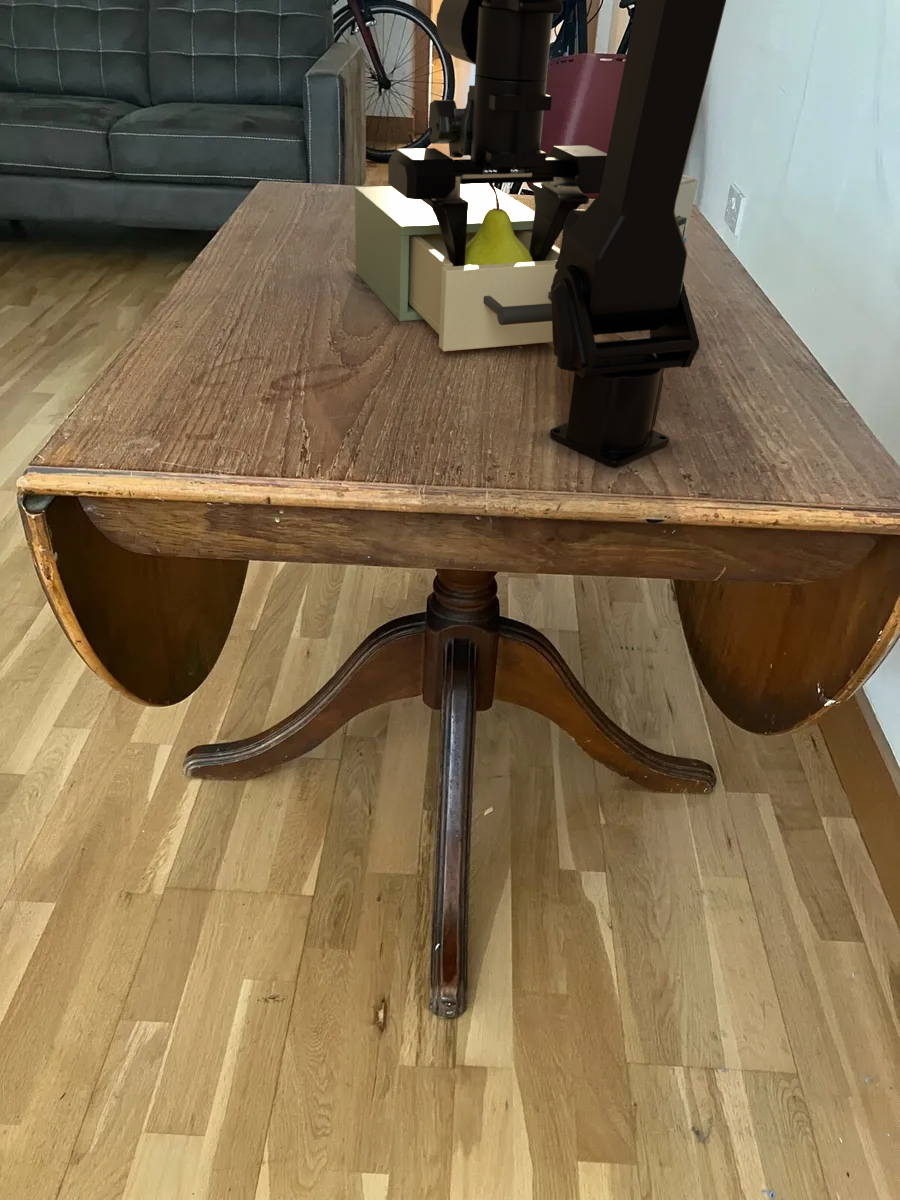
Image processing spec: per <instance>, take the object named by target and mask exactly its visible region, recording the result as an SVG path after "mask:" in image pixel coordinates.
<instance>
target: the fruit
mask: <svg viewBox="0 0 900 1200" xmlns="http://www.w3.org/2000/svg"><path fill="white" fill-rule="evenodd" d="M488 184H489V186H490V187H491V188H492V190H493V191H494V193H495V196H496V208H493V209H490V210H489V211H487V213H486V215H485V216H484V219H483V222H482V225H481V227H480V229H479V231H478V232H477V234H476V235H475V237H474V238H473V239H472V240H471V241H470V242H469V243H468V244H467V245H466V251H465V264H464V266H468V265H485V264H502V263H519V262H533V259H532V257H531V255H530V253H529V251H528V250H527V249H526V247H525V246H524V245H523V244H522V243H521V242H520V241H519V240H518V239H517V238H516V236H515V235H514V232H513V229H512V225H511V220H510V217H509V215H508V213H507V212H506V211H504V210H503V209H500V206H499V201H498V197H497V193H496V190H495V188H496V187H495V186H494V183H488ZM494 187H495V188H494Z"/></svg>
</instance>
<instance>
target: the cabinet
mask: <svg viewBox="0 0 900 1200" xmlns="http://www.w3.org/2000/svg"><path fill="white" fill-rule="evenodd" d="M494 188H495V190H496V193H497V197H498V201H499V206H500V209H503V210H504V211H506V212H507V213H508V215H509V217H510V220H511V225H512V229H513V230H532V229H533V222H534V214H535V210H533V209H532V208H530V207H528V206H527V205H525V204H523V203H521V202H520V201H519V200H517V199H515V198H513V197H512V196H510V195H508V194H507V193H505V192H504V191H501V190H500V189H498V188H496V187H495V186H494ZM460 197H461V198H462V199H464V200H465V201H467V202H468V219H467V233H468V232H478V231H479V229H480V227H481V225H482V222H483V219H484V216H485V215H486V213H487V211H489V210H490V209H493V208H496V196H495V193H494V191H493V190H492V188H491V187H490V186H489V184H488V183H484V184H461V189H460ZM354 217H355V218H354V229H355V230H354V235H355V236H354V237H355V238H354V239H355V274H356V275H357V276H358V277H359V278H360V279H361V281H363V282H364V284H365V285H366V286H367V287H368V288H369V289H370V290H371V291H372V293H374V294H375V296H376V297H377V298H378V299H379V300H380V301H381V302H382V304H383V305H384V306H385V307H386V308H387V310H389V311H390V313H391V314H392V315H393V316H394V317H395V318H396V319H397V320H398V322H409V321H421V320H425V319H424V318H423V317H422V316H421V315H420V314H419V313H418V312H417V311H416V310H415V309H414V308H413V307H412V306H411V305H410V304H409V303H408V268H409V235H426V234H442V232H441V228H440V226H439V223H438V221H437V218H436V216H435V213H434V211H433V209H432V207H430V206H429V205H428V204H426V203H425V202H424V201H422V200H421V199H410V198H406V197H405V196H403V195H402V194H401V193H400V192H398V191H397V190H396V189H394V188H393V187H392V186H391V185H378V186H377V185H376V186H373V185H372V186H355V187H354Z"/></svg>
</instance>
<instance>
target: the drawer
mask: <svg viewBox="0 0 900 1200" xmlns="http://www.w3.org/2000/svg"><path fill="white" fill-rule="evenodd" d="M513 232H514V235H515V236H516V238H517V239H518V240H519V241H520V242H521V243H522V244H523V245H524V246H525V247H526V249H527V250H528V251H530V244H531V236H532V230H513ZM476 234H477V232H468V233H467V234H466V245H467V244H468V243H469V242H470V241H471V240H472V239H473V238H474V237H475V235H476ZM560 249H561V247H560V248H559V247H558V246H557V245H555V244H554V245H553V247H552V248H551V250H550V252H549V254H548V256H547V257H546V259H545V261H536V262H519V263H502V264H485V265H468V266H453V264H452V263H451V262H450V260H449V257H448V253H447V249H446V246H445V242H444V239H443V235H442V234H426V235H409V268H408V303H409V304H410V305H411V306H412V307H413V308H414V309H415V310H416V311H417V312H418V313H419V314H420V315H421V316H422V317H423V318H424V319H423V320H424V321H425V322H426V323H427V324H428V325H430V327H431V328H432V329H433V330H434V331H435V332H436V334H438V347H439V349H440V350H441V351H442V352H452V351H454V352H455V351H463V350H464V351H465V350H474V349H487V348H498V347H509V346H510V347H511V346H520V345H532V344H542V343H543V344H544V343H553V332H552V307H551V286H552V283H553V279H554V276H555V273H556V272H557V270H556V269H555V264H556V262H557V259H558V257H559V253H560Z"/></svg>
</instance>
